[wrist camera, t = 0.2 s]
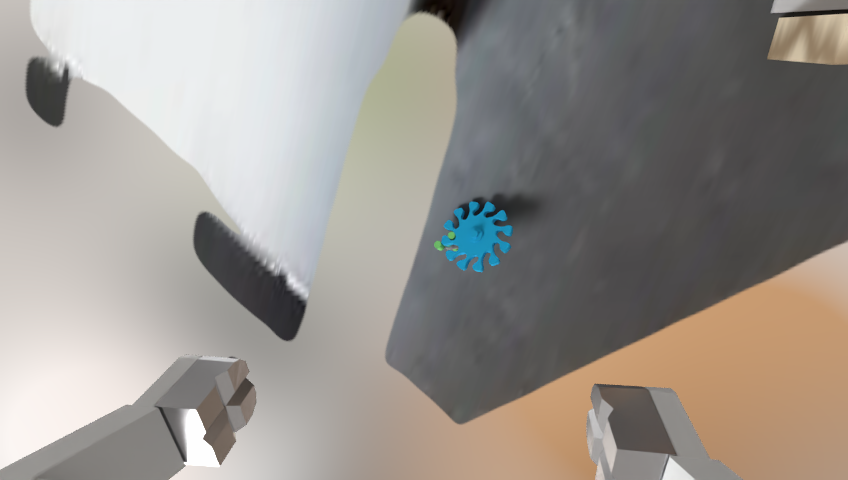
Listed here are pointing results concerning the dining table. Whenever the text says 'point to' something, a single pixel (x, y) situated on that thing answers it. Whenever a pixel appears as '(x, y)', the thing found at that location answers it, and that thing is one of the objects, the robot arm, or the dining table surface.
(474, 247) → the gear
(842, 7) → the mat
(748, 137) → the dining table surface
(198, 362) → the robot arm
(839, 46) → the birch slab
